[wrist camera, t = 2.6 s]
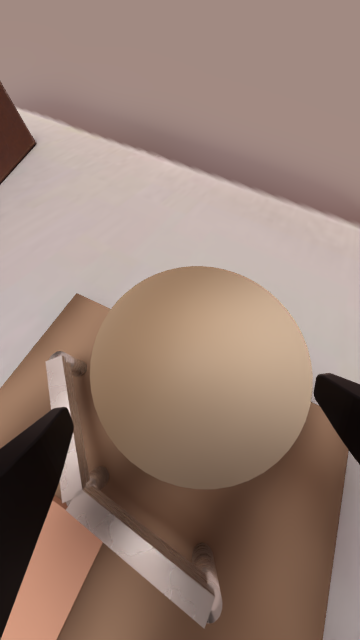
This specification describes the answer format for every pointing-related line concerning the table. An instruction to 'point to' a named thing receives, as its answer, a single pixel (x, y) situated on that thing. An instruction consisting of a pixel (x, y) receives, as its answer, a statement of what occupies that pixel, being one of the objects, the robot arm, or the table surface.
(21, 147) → the letter holder
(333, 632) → the table surface
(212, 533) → the board
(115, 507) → the bent metal bar
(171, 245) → the table surface
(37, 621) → the pad
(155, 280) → the peg
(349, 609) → the table surface
